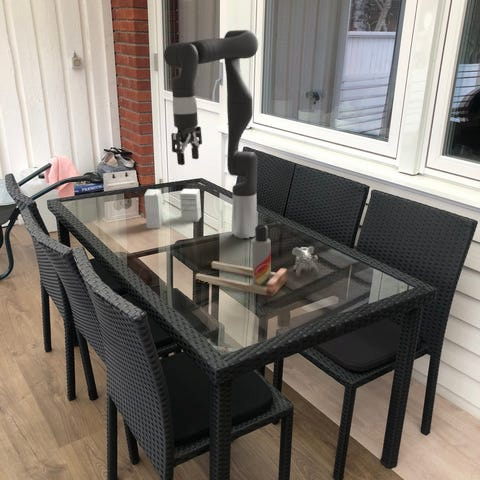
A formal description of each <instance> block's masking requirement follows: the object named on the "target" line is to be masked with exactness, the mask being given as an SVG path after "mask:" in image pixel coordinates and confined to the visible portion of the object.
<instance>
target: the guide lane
mask: <svg viewBox="0 0 480 480" xmlns="http://www.w3.org/2000/svg"><path fill="white" fill-rule="evenodd" d="M211 269H214V270H215V269H216V270H221V271H226V272H230V273H235V274H240V275H241V274H242V275H246V276H252V277H253V267H249V266H242V265H237V264H233V263H232V264H231V263H226V262H223V261H221V262H220V261H215V260H213V261H212V262H211ZM196 279H199V280H201V281H204V282H203V283H205V282H208V283H207V284H210V283H211V285H216V286H219V287H224V288H225V287H226V288H229V289H234V290H239V291H243V292H248V293H252V294H258V295H263V296H268V297H274V295H276V293H277V292H278V291H279V290H280V289H281V288H282V287H283V285H284V284H285V283H286V282H287V281H288V268H284V267H283V268H282V267H281V268H280V269H279V270H277V272H275V271H274V272H273V271H271V279H270V280H269V281H268V282H267V283H266V287H264V286H259V285H254V284H253V283H248V282H243V281H239V280H233V279H229V278H225V277H219V276H213V275H208V274H203V273H199V272H198V273H196V274H195V280H196Z"/></svg>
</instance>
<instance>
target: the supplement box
mask: <svg viewBox="0 0 480 480" xmlns="http://www.w3.org/2000/svg"><path fill="white" fill-rule="evenodd" d="M179 201H180V213H181V214H180V216H181V222H191V223H193V222H197V223H198V222H199V221H200V219H201V217H202V210H201V209H202V208H201V207H202V205H201V192H200V188H183V189H182V190H181V191H180V193H179Z"/></svg>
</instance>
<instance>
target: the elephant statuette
mask: <svg viewBox="0 0 480 480" xmlns="http://www.w3.org/2000/svg"><path fill="white" fill-rule="evenodd" d="M314 251H315V248H314V246H309V247H306V246H305V247H303V246H301V247H300V248H299V247H293V248H292V251H291V253H292V256H293V255H294V256H296V257H295V265H293V269H294V271H295V274H296V276H297V277H298V276H300V275H301V273H302V271H303V270H305V271H306V272H308V270H309V271H310V270H313V272H314V275H318V274H319V272H320V271H319V268H318V266H317V265H316V263H315V261H318V260H319V258H318V255H312V254H314Z"/></svg>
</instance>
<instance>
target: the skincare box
mask: <svg viewBox="0 0 480 480" xmlns="http://www.w3.org/2000/svg"><path fill="white" fill-rule="evenodd" d="M143 196H144V210H145V222H146V223H145V224H146V225H145V226H146V228H147V229H161V227H162V225H163V222H164V219H163V218H164V215H163V204H162V201H163V200H162V190H161V188H160V189H156V188H155V189H153V188H152V189H149V188H148V189H147V190H146V192H145V193H144V195H143Z"/></svg>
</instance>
